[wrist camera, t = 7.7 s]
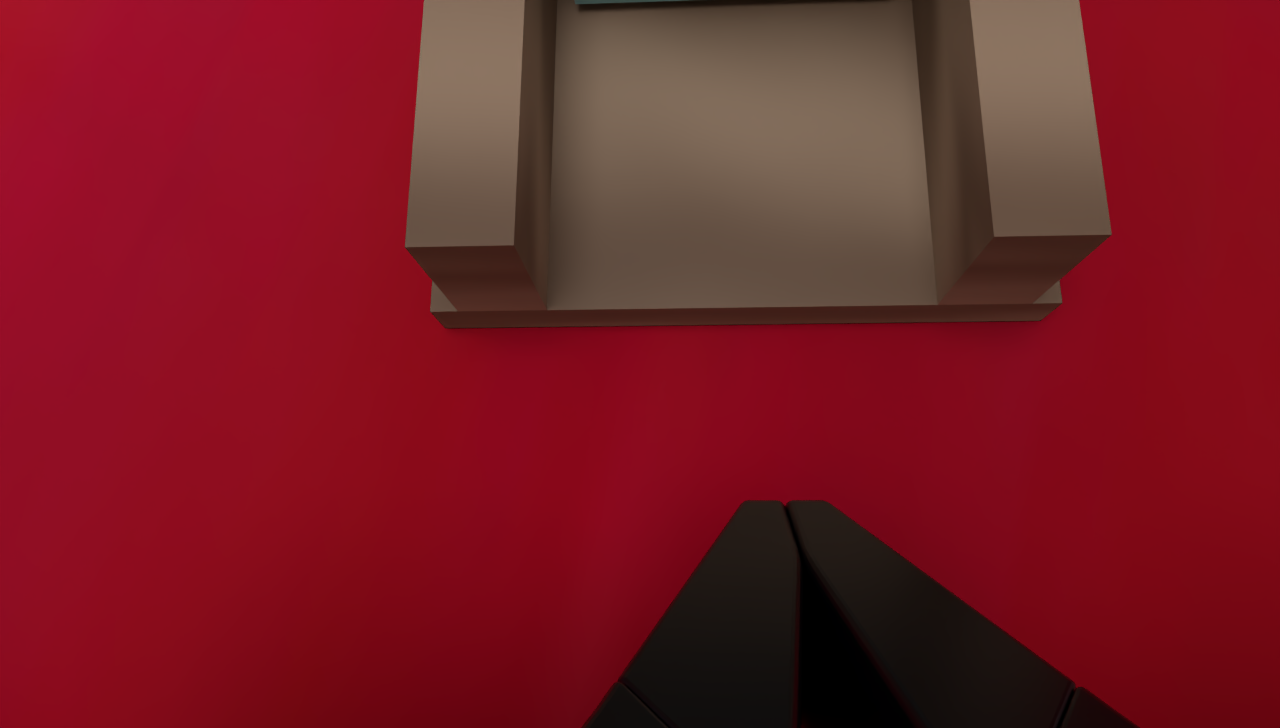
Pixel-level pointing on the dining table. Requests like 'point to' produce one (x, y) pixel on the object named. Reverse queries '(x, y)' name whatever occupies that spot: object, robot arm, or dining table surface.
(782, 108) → the walnut track
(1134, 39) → the dining table surface
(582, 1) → the grey teal box
